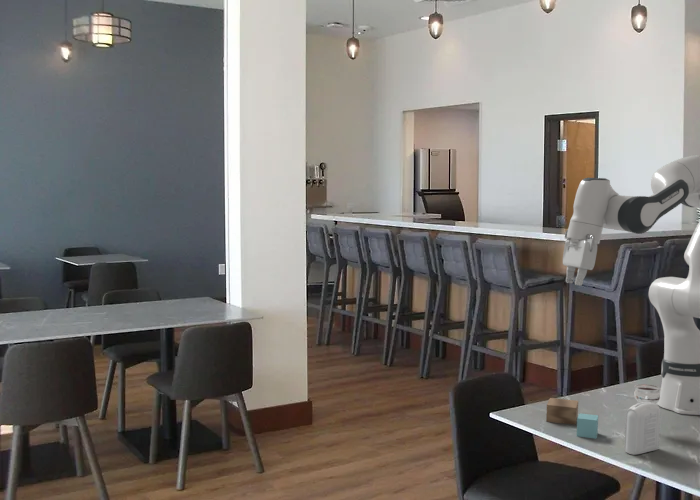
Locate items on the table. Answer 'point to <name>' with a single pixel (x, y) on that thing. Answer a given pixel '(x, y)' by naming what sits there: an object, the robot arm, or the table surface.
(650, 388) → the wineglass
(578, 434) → the teal cube
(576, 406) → the walnut block
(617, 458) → the table surface
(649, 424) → the white plastic bottle
